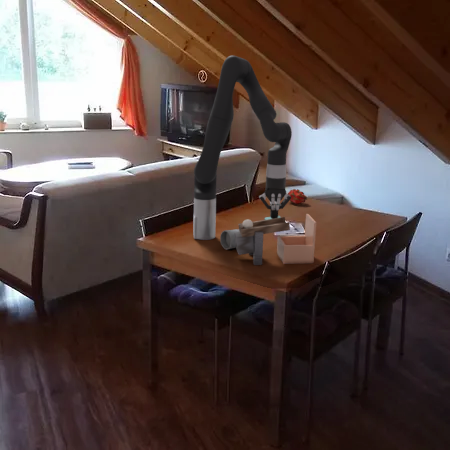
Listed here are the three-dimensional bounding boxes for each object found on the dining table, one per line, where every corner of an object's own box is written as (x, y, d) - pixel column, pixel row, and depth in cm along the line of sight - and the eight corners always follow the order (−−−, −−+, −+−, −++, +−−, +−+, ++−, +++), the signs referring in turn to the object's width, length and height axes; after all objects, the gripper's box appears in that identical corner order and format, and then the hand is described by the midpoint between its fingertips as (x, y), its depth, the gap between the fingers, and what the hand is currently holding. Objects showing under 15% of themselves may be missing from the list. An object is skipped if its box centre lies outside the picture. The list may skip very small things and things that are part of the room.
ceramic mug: (246, 248, 223) (247, 229, 221) (230, 251, 218) (231, 233, 216) (231, 241, 231) (231, 223, 229) (215, 244, 226) (215, 226, 224)
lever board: (239, 255, 205) (236, 230, 202) (233, 242, 221) (230, 217, 218) (291, 247, 207) (289, 222, 204) (282, 234, 222) (280, 210, 219)
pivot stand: (254, 265, 205) (255, 232, 201) (248, 253, 217) (249, 222, 213) (262, 264, 205) (263, 232, 201) (255, 253, 217) (257, 222, 214)
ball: (244, 232, 205) (242, 222, 204) (243, 229, 209) (240, 219, 208) (254, 229, 205) (252, 219, 204) (253, 226, 209) (250, 216, 208)
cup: (283, 263, 207) (285, 222, 202) (276, 253, 218) (278, 214, 213) (313, 263, 208) (316, 222, 203) (305, 252, 219) (308, 213, 214)
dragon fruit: (286, 203, 299) (305, 211, 293) (280, 197, 292) (299, 204, 286) (293, 190, 301) (312, 197, 294) (288, 183, 294) (307, 190, 287)
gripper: (260, 177, 206) (259, 222, 211) (295, 177, 208) (292, 221, 213) (257, 173, 214) (255, 216, 219) (290, 173, 215) (288, 216, 220)
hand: (274, 219), depth 216 cm, fingers closed
